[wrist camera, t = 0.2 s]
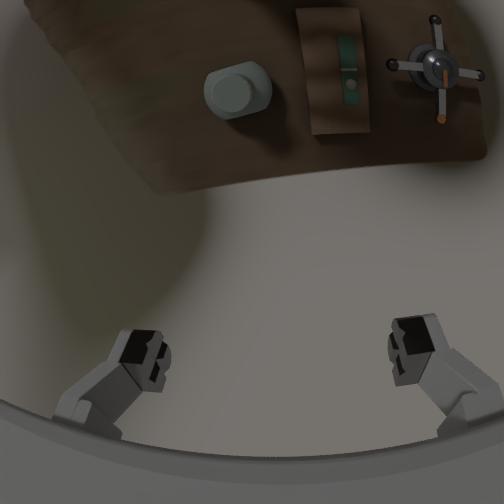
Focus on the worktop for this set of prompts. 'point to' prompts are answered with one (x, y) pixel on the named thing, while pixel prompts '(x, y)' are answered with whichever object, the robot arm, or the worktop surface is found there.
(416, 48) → the pedestal
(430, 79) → the capstan
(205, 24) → the worktop surface
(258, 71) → the air freshener
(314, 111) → the level stand
